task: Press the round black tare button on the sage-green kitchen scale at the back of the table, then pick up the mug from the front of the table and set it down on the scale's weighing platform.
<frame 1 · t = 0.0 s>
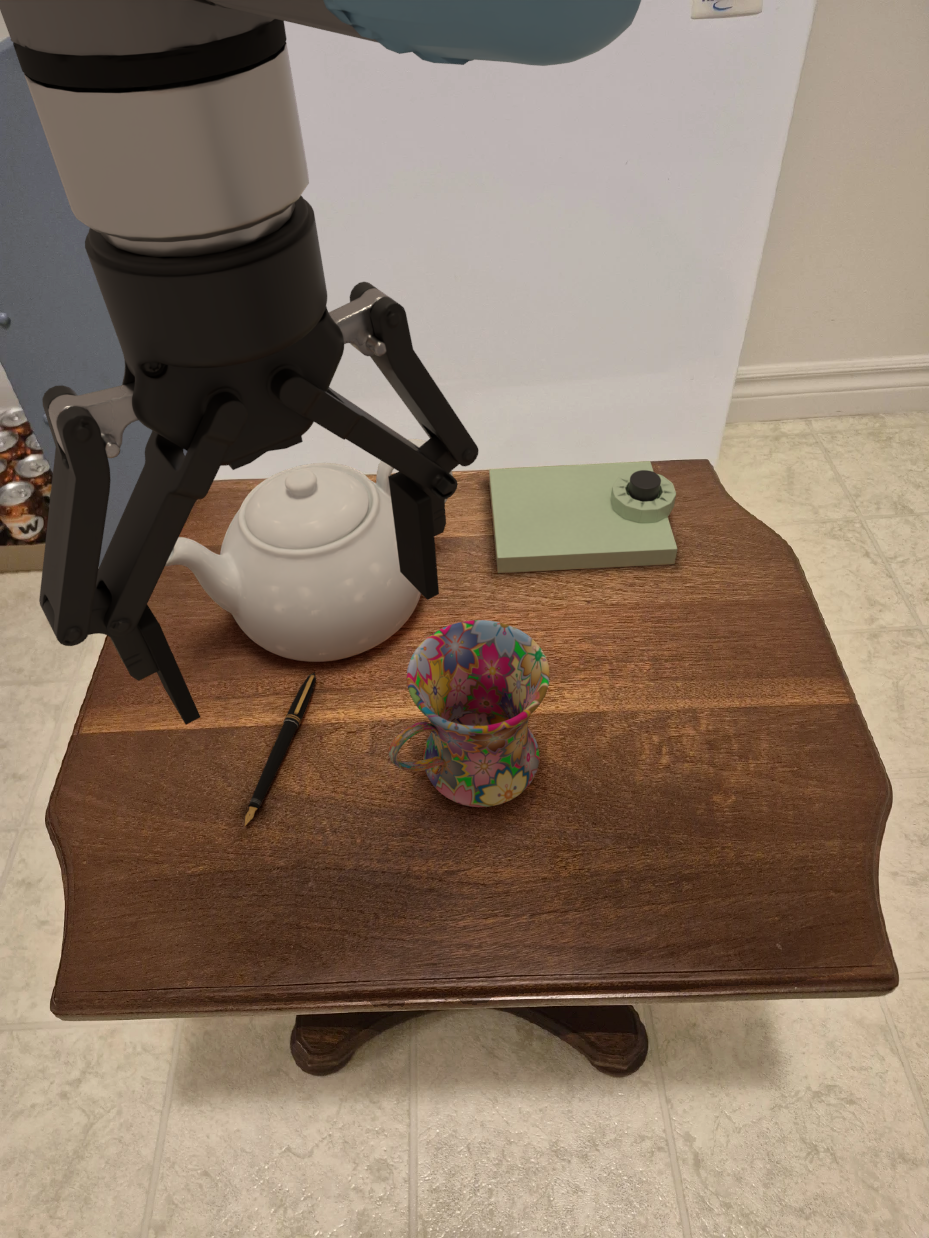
hand: (307, 639, 43), 21 cm above the table, tool pointing down, fingers open, 13 cm apart
mug: (467, 774, 62), on the table
fountain pen: (284, 750, 64), on the table
teapot: (334, 598, 75), on the table
tare button: (644, 486, 78), point 4 cm above the table, slide at 0.2 cm
scale: (576, 522, 81), on the table
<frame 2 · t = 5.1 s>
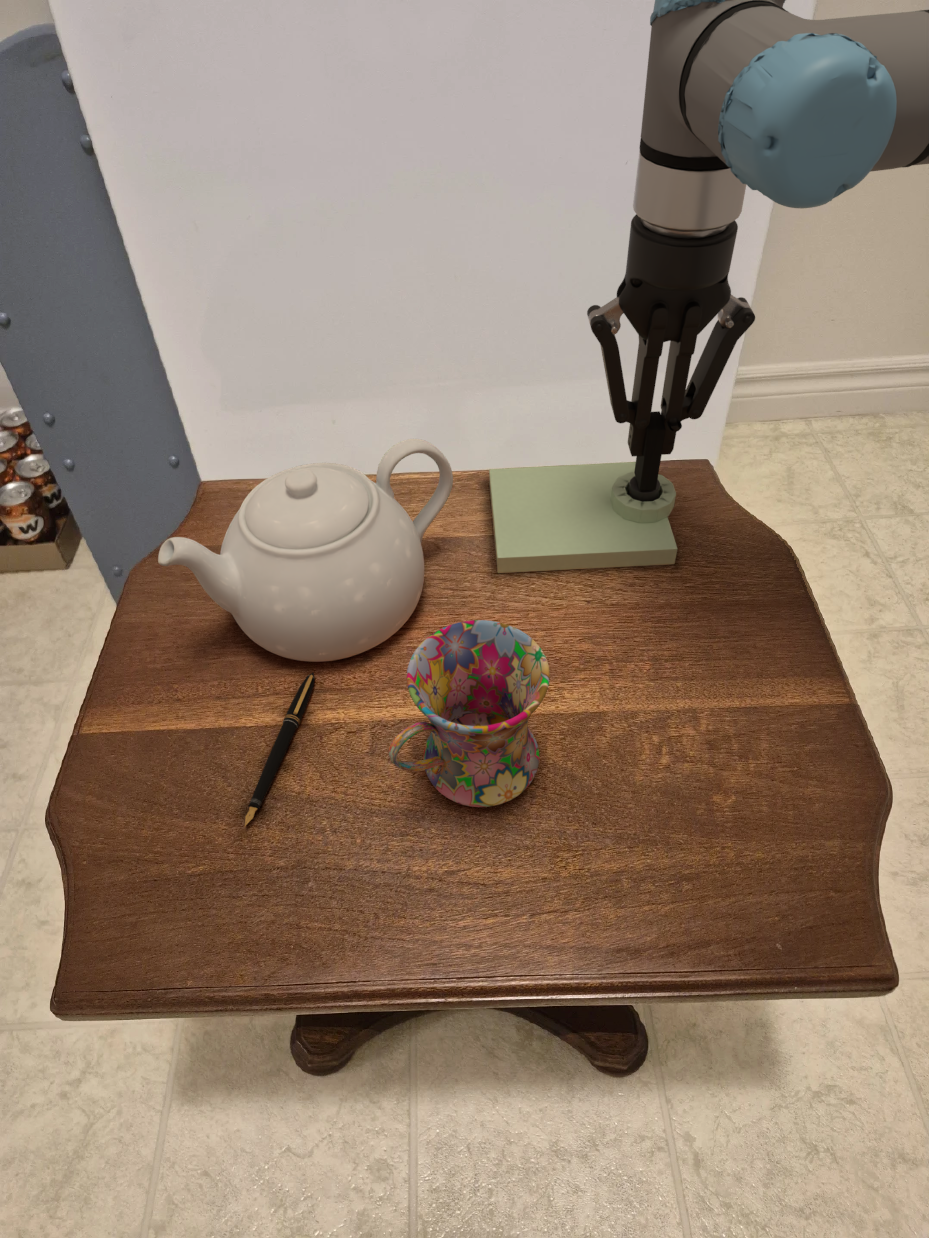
hand: (644, 480, 77), 4 cm above the table, tool pointing down, fingers closed
tare button: (643, 490, 78), point 3 cm above the table, slide at -0.3 cm, touching gripper
everything else where it was.
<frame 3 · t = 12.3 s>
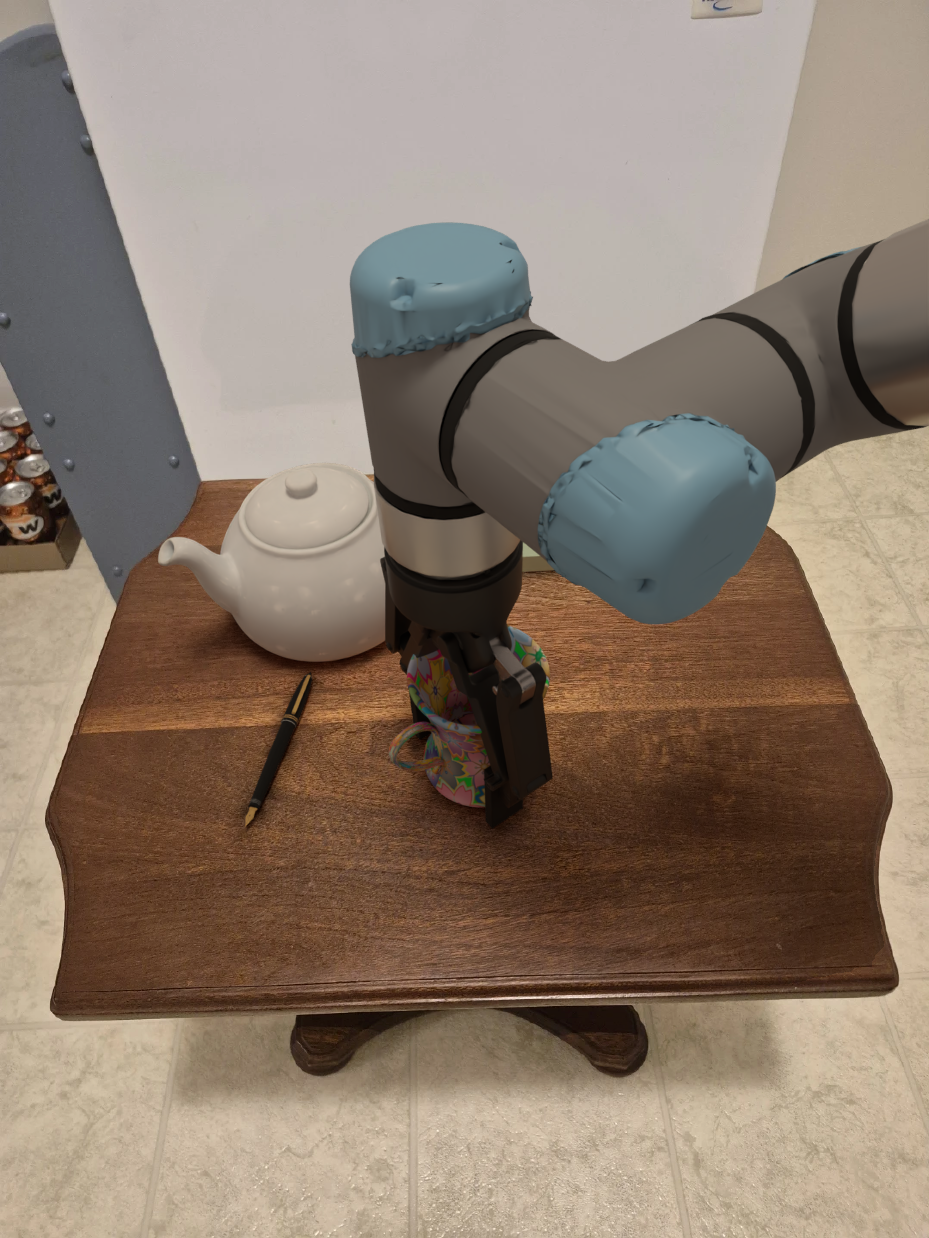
hand: (466, 769, 62), 0 cm above the table, tool pointing down, fingers closed on mug, 8 cm apart
mug: (467, 774, 62), on the table, touching gripper
tare button: (644, 485, 78), point 4 cm above the table, slide at 0.2 cm
everything else where it was.
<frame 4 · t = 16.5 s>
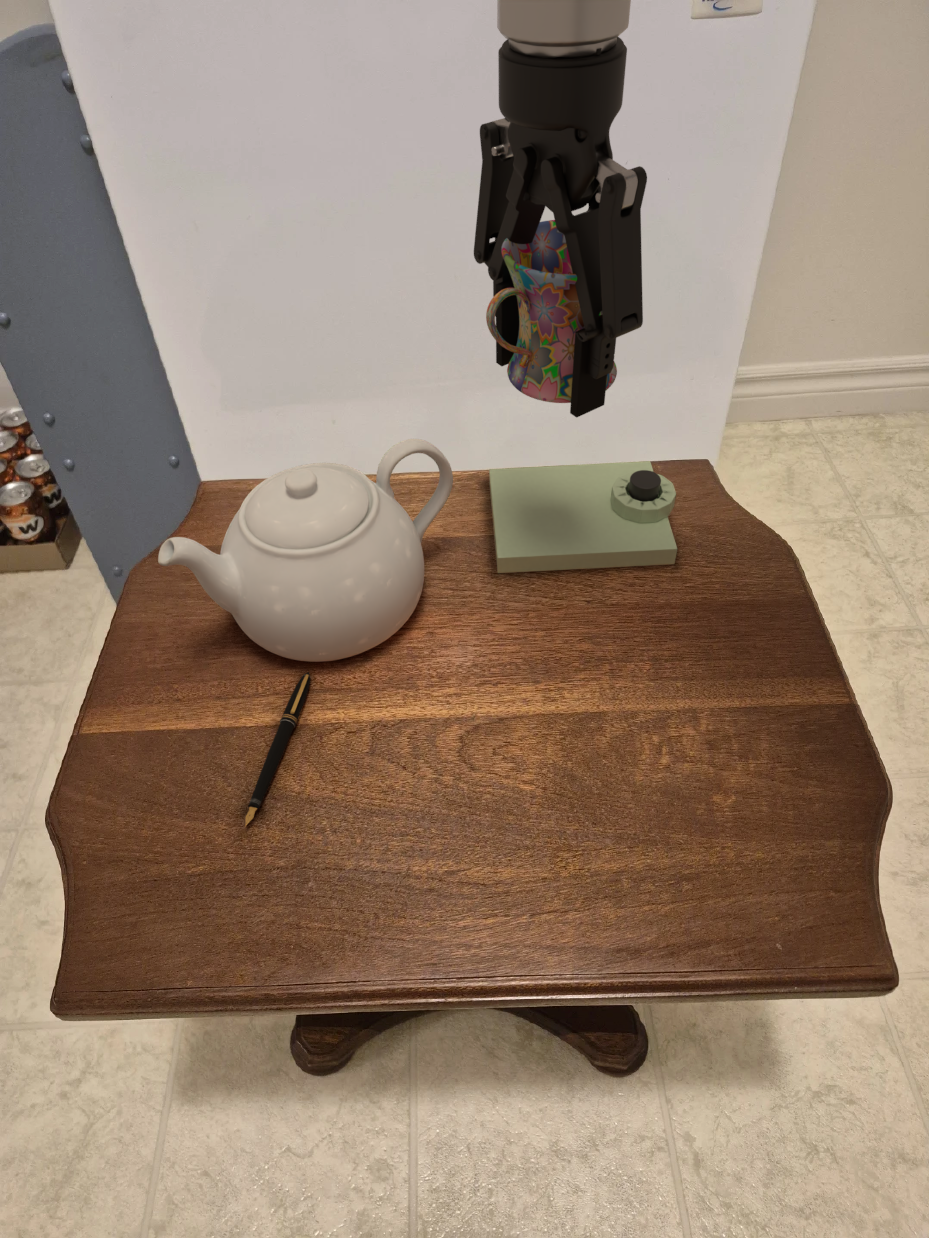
hand: (548, 383, 66), 17 cm above the table, tool pointing down, fingers closed on mug, 8 cm apart
mug: (548, 390, 66), point 17 cm above the table, touching gripper
everything else where it was.
when the fingers open (2 cm above the table, at t = 20.7 s): mug stays where it is, resting on scale.
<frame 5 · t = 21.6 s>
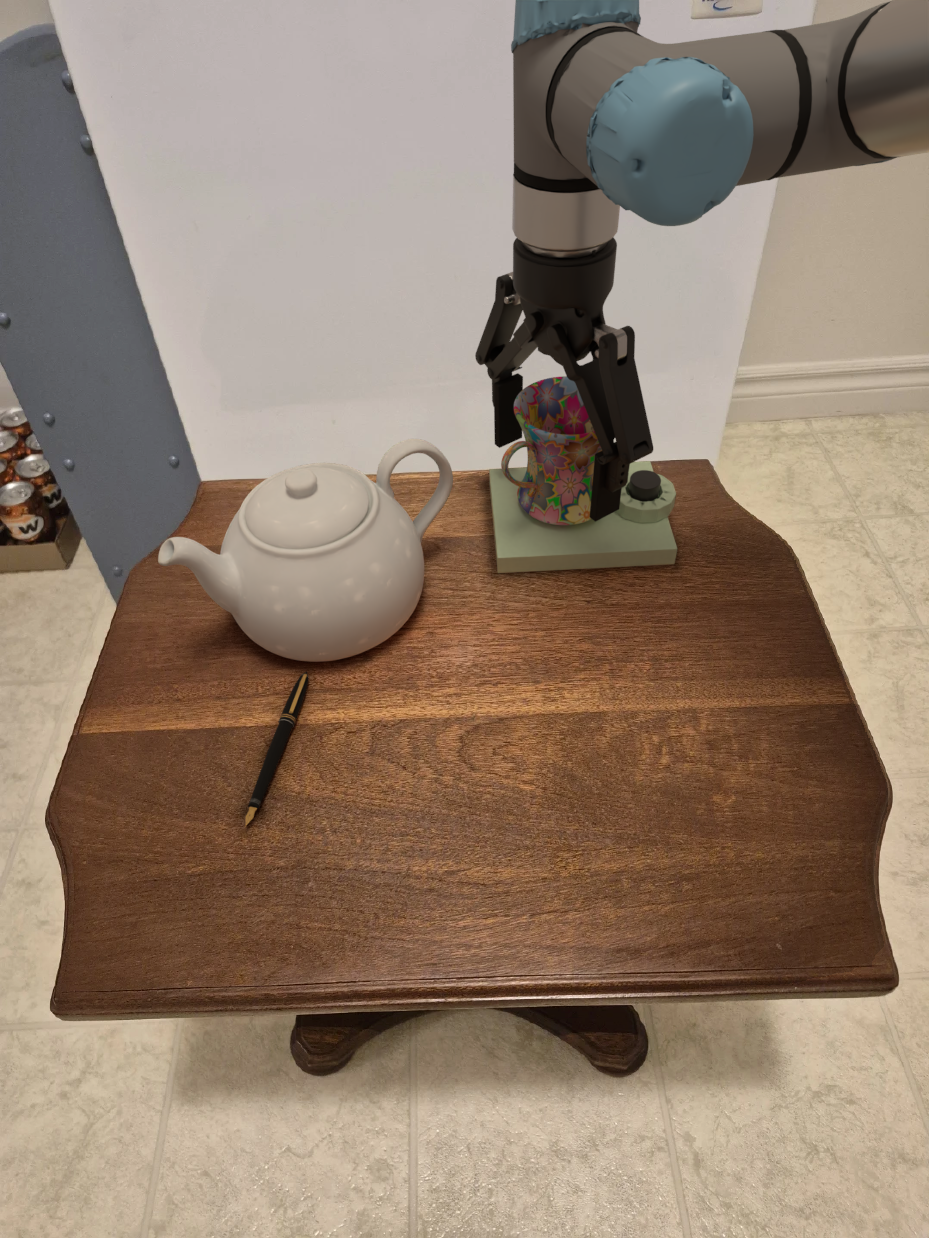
hand: (553, 475, 76), 6 cm above the table, tool pointing down, fingers open, 13 cm apart
mug: (551, 510, 79), point 2 cm above the table, touching scale
everything else where it was.
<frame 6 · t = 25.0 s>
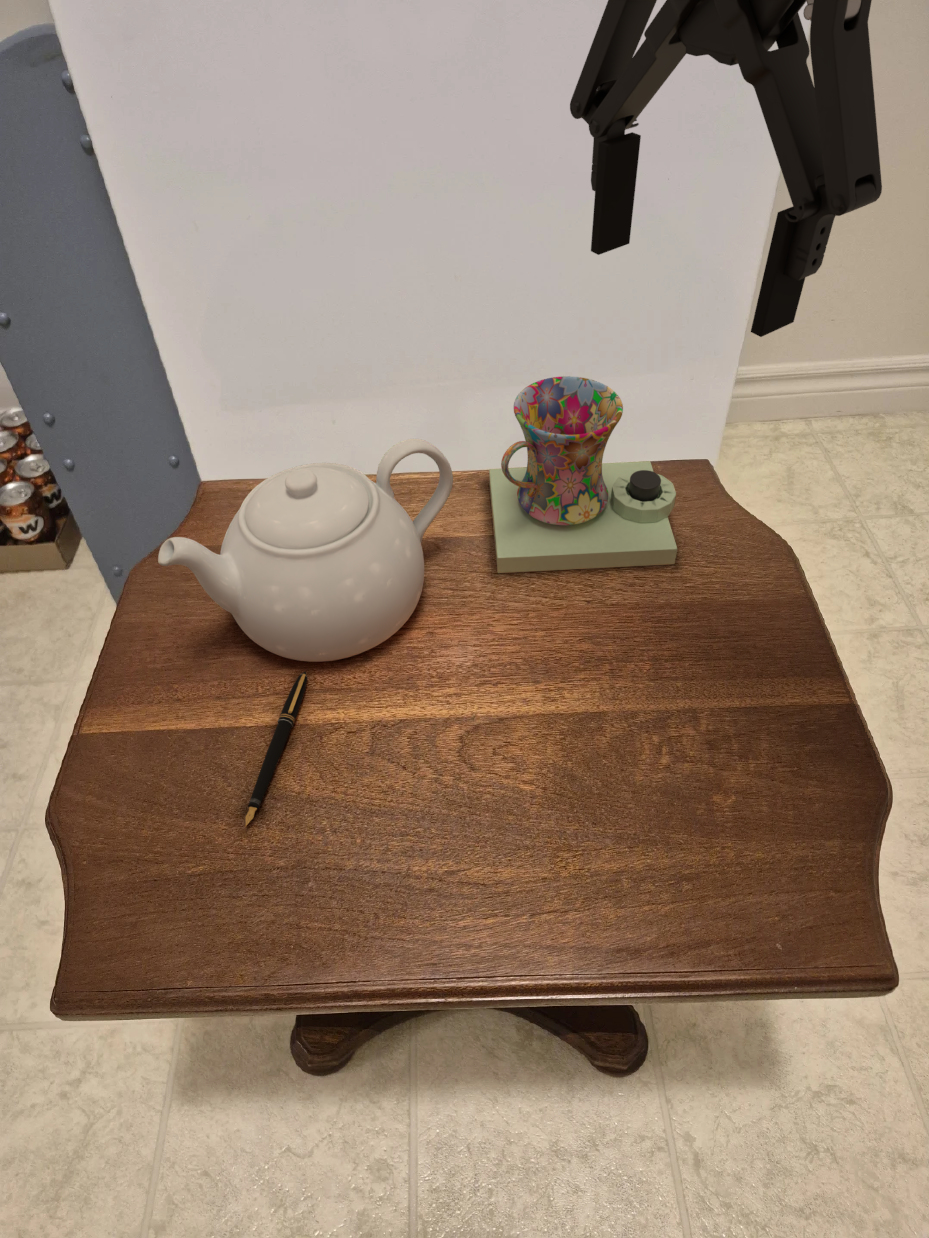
hand: (684, 285, 52), 29 cm above the table, tool pointing down, fingers open, 13 cm apart
nothing on the table moved.
at the end: tare button pushed in 0.8 cm at the most during the clip, back to 0.2 cm at the end; tare button slide at 0.2 cm; mug inside the target area on the scale (0.4 cm from its centre), point 1.7 cm above the scale's base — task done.
